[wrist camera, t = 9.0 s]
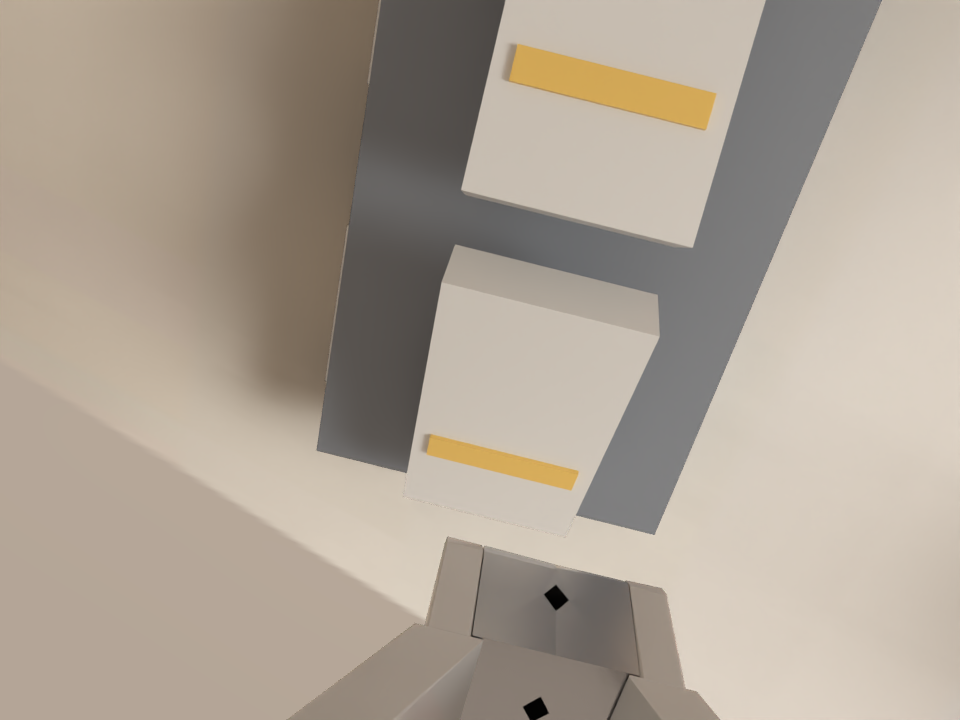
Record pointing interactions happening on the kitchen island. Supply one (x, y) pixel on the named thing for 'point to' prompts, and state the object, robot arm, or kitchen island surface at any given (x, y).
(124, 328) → the kitchen island surface
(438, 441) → the block
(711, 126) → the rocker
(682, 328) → the console
